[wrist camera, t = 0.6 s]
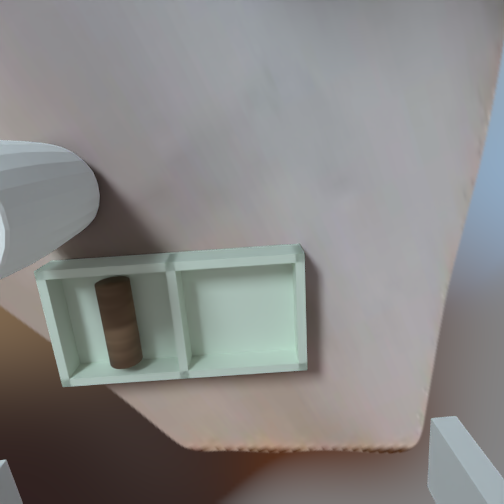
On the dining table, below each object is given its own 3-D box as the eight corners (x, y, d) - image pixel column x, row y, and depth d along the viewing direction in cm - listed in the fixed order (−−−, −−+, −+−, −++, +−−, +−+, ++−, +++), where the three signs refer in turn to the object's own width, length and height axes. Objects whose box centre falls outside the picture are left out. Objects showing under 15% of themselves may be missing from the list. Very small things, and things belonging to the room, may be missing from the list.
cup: (5, 136, 31) (-177, 134, 18) (106, 143, 32) (3, 146, 18) (16, 234, 34) (-135, 297, 20) (110, 239, 34) (22, 305, 21)
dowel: (100, 277, 35) (89, 289, 32) (133, 274, 35) (124, 286, 32) (115, 352, 37) (106, 370, 34) (145, 349, 37) (138, 367, 34)
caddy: (51, 260, 35) (33, 271, 32) (299, 243, 35) (304, 253, 32) (76, 368, 38) (62, 386, 35) (302, 352, 38) (307, 370, 35)
